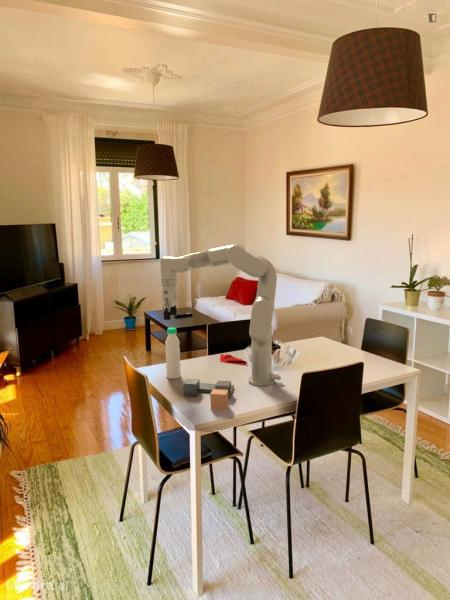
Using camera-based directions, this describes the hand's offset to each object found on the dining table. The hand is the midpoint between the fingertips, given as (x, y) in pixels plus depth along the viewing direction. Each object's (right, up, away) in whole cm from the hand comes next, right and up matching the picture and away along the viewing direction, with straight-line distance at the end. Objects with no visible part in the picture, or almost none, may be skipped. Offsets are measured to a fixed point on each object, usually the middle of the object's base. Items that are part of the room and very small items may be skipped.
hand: (170, 317), depth 220 cm
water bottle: (+1, -30, +7) cm, 31 cm away
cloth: (+30, -26, +31) cm, 50 cm away
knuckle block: (+24, -37, -30) cm, 53 cm away
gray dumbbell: (+19, -34, -14) cm, 41 cm away
